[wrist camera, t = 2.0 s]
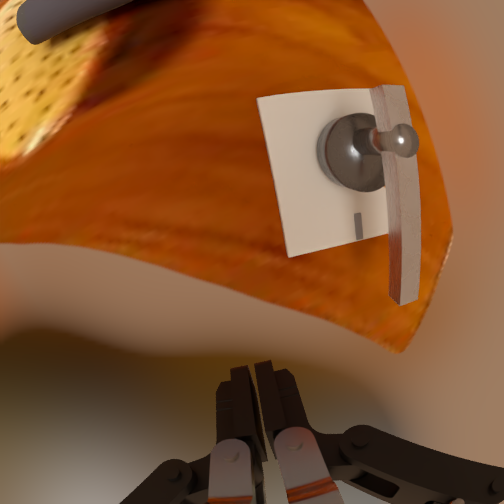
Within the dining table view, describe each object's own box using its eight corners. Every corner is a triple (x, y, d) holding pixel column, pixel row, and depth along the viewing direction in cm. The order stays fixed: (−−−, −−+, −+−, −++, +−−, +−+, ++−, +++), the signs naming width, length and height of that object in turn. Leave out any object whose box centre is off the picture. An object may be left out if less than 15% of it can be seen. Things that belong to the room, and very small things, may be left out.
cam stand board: (256, 99, 30) (257, 97, 28) (384, 89, 30) (389, 88, 29) (287, 254, 36) (289, 258, 35) (402, 227, 37) (406, 229, 36)
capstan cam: (307, 106, 29) (349, 83, 18) (372, 102, 29) (431, 87, 18) (332, 270, 36) (373, 317, 25) (389, 254, 36) (441, 291, 25)
